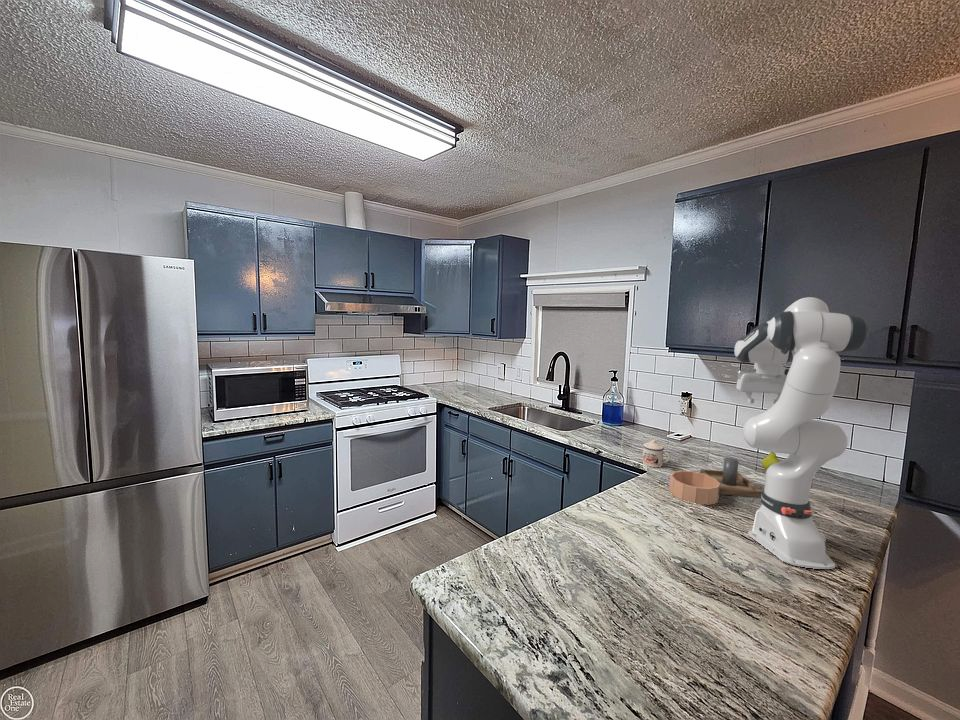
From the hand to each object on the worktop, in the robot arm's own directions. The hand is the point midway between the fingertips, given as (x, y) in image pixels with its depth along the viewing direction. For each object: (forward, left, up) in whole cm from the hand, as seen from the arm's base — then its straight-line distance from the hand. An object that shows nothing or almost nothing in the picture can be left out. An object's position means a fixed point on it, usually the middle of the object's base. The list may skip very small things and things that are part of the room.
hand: (763, 403), depth 160 cm
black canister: (0, +10, -34) cm, 36 cm away
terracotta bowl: (-12, +28, -35) cm, 46 cm away
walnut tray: (0, +10, -35) cm, 36 cm away
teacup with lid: (+18, +34, -35) cm, 52 cm away
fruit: (+20, -16, -35) cm, 44 cm away
